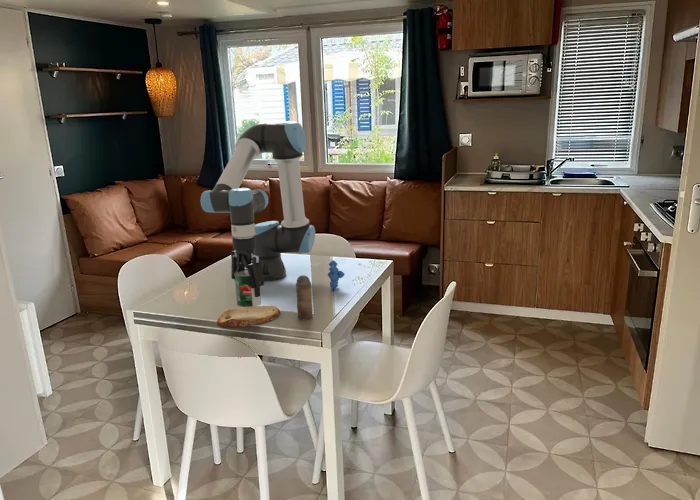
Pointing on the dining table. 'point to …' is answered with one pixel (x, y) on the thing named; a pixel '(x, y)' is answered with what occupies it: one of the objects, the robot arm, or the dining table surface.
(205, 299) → the dining table surface
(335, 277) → the grapes
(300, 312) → the walnut pepper mill
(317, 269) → the dining table surface
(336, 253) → the dining table surface
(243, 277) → the canned tomato
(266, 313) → the bread slice
